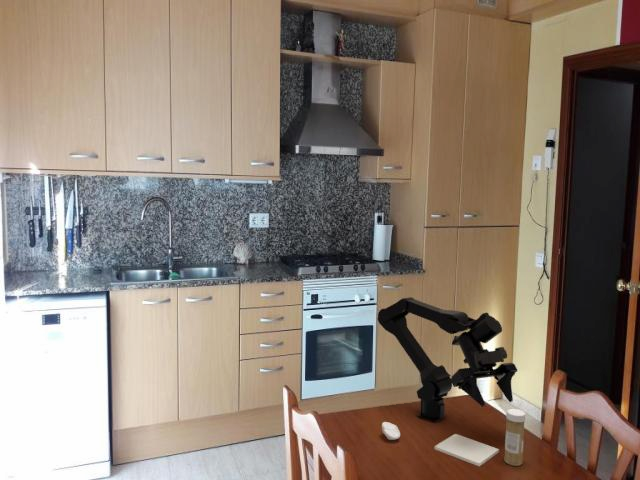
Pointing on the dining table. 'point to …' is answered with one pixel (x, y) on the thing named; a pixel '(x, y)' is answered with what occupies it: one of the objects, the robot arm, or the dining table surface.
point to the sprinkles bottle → (514, 437)
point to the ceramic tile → (467, 449)
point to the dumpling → (390, 431)
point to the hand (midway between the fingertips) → (497, 403)
